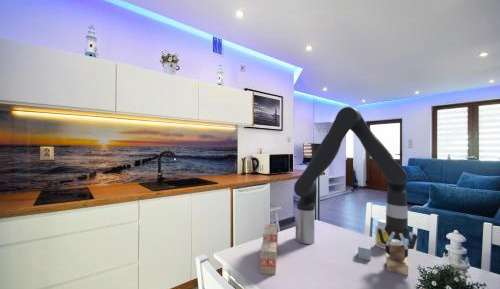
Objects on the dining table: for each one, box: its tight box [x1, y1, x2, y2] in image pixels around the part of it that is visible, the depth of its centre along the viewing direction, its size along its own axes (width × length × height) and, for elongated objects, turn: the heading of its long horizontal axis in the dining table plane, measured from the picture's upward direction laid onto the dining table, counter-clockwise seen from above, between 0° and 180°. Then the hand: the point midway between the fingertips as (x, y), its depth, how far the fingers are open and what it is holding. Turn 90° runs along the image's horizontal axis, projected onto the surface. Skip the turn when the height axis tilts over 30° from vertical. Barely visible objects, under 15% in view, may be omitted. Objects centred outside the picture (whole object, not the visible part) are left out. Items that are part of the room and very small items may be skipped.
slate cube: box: [357, 242, 372, 261], centre depth 99 cm, size 5×5×5 cm
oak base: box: [385, 253, 409, 276], centre depth 90 cm, size 7×7×4 cm
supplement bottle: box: [374, 219, 388, 250], centre depth 109 cm, size 7×7×13 cm
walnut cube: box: [389, 240, 405, 261], centre depth 90 cm, size 5×5×5 cm
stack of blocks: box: [259, 223, 279, 275], centre depth 96 cm, size 21×6×12 cm, turn 171°
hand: (396, 255), depth 90 cm, fingers closed on walnut cube, 5 cm apart
